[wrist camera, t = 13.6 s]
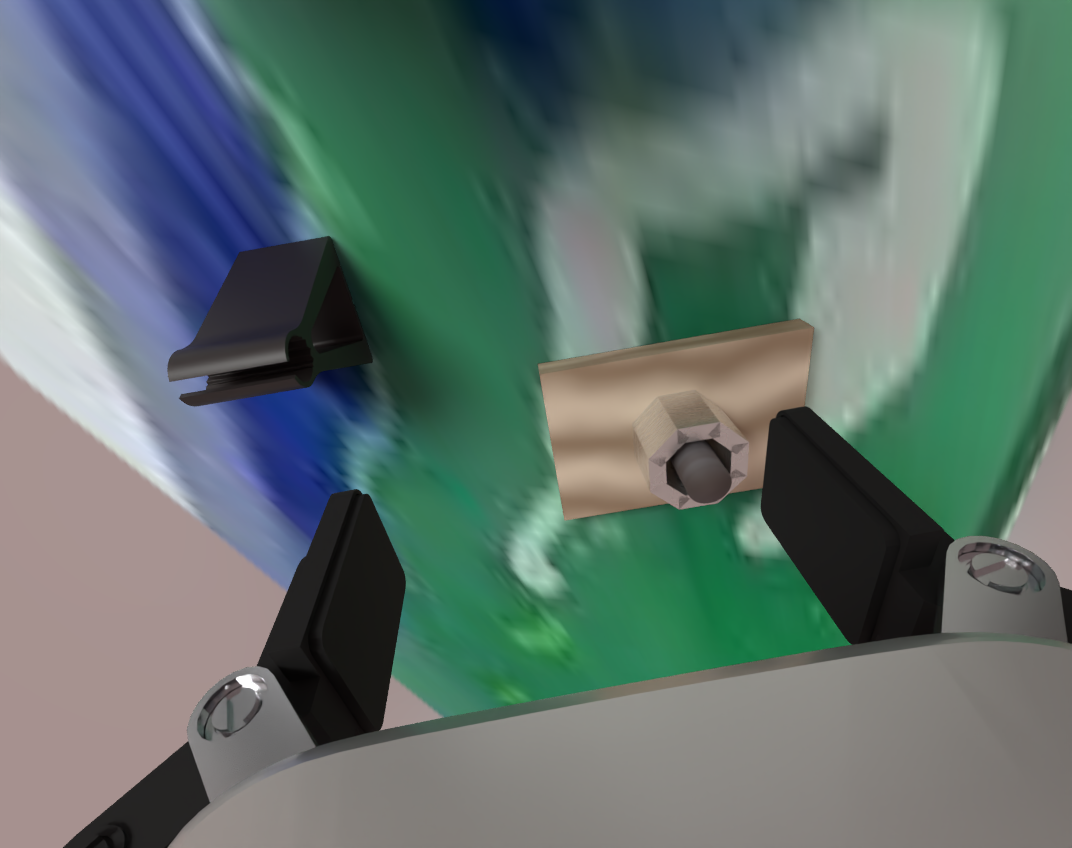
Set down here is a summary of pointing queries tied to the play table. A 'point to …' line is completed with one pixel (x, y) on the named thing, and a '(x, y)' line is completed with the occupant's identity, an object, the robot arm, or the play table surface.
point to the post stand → (659, 369)
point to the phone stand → (274, 325)
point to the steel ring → (682, 423)
